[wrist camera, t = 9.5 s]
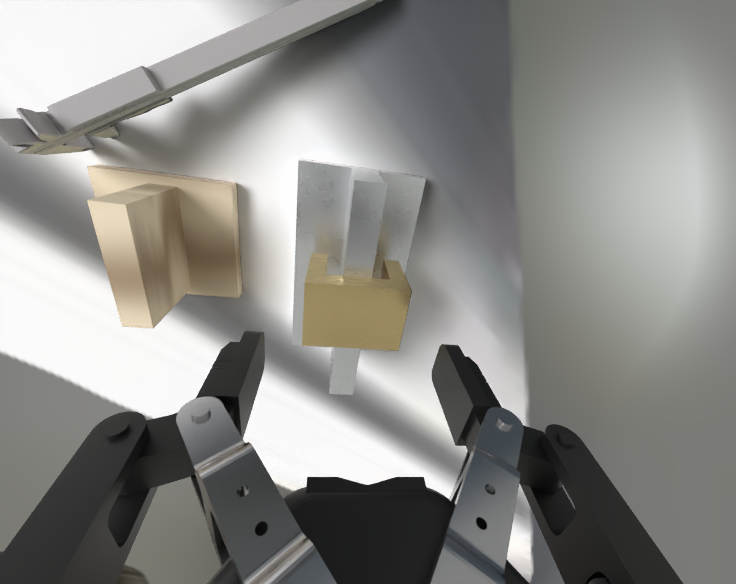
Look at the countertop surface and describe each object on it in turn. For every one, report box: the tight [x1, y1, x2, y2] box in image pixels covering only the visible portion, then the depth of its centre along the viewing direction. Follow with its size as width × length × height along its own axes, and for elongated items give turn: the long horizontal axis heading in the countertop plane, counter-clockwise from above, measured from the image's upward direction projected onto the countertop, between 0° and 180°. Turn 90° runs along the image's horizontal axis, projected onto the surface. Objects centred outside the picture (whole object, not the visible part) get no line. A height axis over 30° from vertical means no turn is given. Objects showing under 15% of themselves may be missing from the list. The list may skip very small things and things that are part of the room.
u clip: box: [302, 253, 412, 351], centre depth 18 cm, size 4×6×4 cm
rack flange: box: [292, 159, 426, 395], centre depth 20 cm, size 14×8×6 cm, turn 172°
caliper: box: [0, 0, 383, 155], centre depth 14 cm, size 20×1×6 cm, turn 112°
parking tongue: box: [87, 165, 242, 328], centre depth 18 cm, size 8×8×6 cm
